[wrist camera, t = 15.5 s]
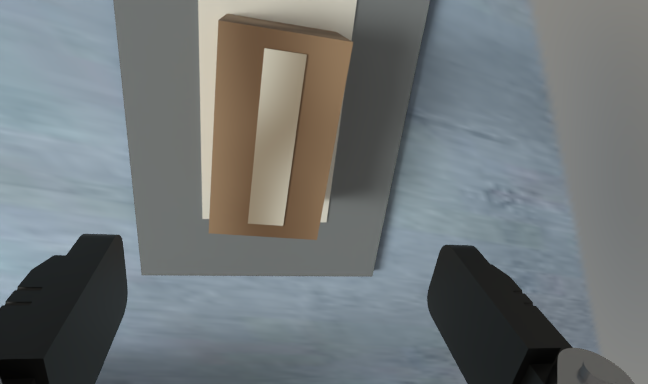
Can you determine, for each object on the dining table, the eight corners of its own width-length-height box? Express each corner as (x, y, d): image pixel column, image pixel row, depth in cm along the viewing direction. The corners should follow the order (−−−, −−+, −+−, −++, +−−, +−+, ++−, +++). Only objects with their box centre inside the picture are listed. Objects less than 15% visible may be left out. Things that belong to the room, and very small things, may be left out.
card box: (336, 31, 19) (353, 42, 15) (308, 200, 23) (317, 241, 19) (226, 13, 18) (218, 20, 14) (217, 193, 22) (208, 234, 18)
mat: (369, 270, 26) (372, 277, 26) (144, 268, 24) (141, 276, 23) (444, -95, 18) (451, -98, 17) (102, -156, 15) (95, -162, 15)
